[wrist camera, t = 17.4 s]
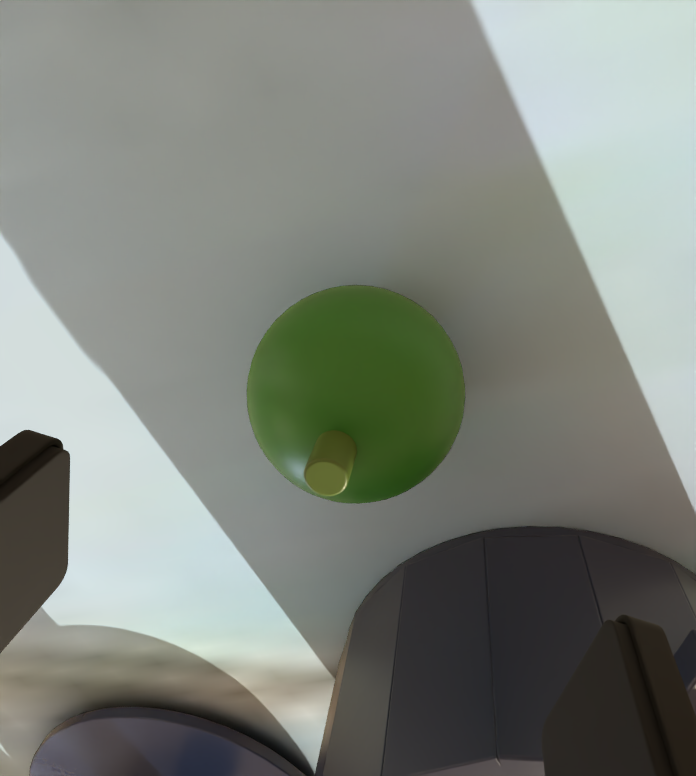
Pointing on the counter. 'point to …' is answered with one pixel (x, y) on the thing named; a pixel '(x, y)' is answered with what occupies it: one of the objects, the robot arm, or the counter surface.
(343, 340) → the pepper
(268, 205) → the counter surface
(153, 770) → the pan lid
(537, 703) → the pan
